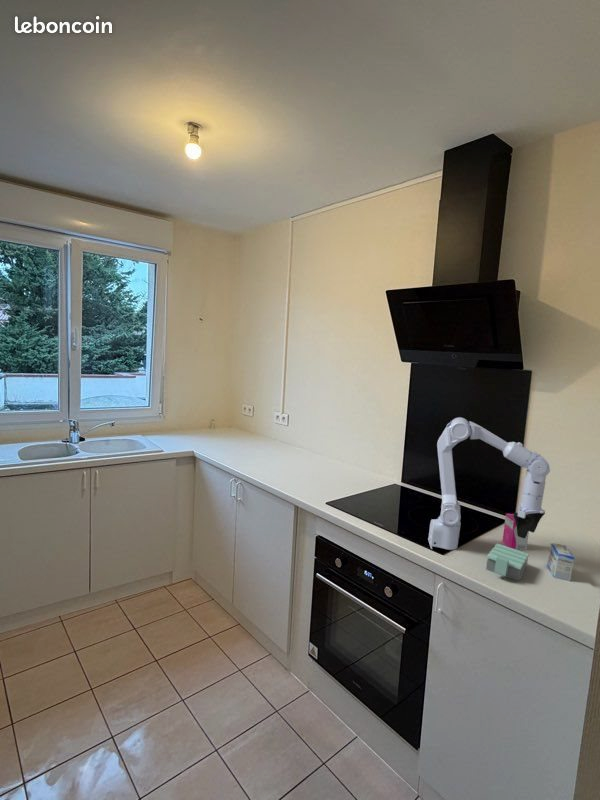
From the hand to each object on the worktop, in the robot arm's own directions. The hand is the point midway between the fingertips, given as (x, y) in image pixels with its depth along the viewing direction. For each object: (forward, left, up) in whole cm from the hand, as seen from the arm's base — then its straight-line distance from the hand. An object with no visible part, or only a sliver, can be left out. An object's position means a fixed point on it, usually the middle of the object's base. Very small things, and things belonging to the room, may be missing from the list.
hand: (525, 534), depth 132 cm
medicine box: (+9, -4, -10) cm, 14 cm away
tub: (-7, -7, -10) cm, 14 cm away
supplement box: (+1, +11, -10) cm, 15 cm away
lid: (-7, -8, -7) cm, 13 cm away
